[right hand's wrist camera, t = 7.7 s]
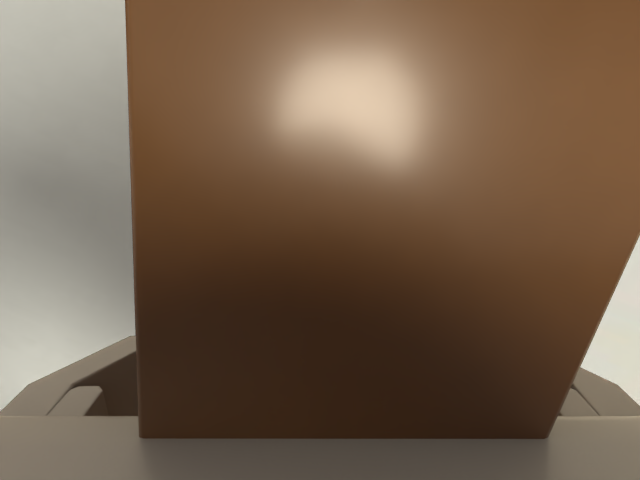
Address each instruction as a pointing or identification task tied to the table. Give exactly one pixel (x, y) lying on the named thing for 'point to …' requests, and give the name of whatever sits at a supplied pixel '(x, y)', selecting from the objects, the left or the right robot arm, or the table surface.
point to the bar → (376, 211)
